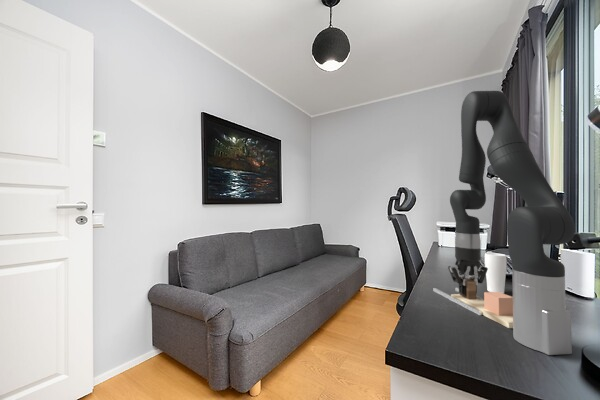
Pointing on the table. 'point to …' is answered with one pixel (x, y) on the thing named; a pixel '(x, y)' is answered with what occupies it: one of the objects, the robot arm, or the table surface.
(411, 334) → the table surface
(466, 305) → the guide rails
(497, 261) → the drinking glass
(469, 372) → the table surface
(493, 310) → the terracotta block
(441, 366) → the table surface
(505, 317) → the birch strip
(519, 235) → the robot arm
